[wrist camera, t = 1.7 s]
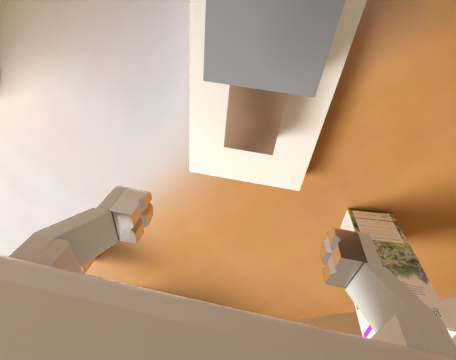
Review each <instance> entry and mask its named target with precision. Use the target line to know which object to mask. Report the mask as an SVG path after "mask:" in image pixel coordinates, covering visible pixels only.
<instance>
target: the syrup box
mask: <svg viewBox="0 0 456 360" xmlns="http://www.w3.org/2000/svg"><path fill="white" fill-rule="evenodd" d="M340 229H344V230H350V231H355V232H361V233H367V234H369V235H370V236H371V239H372V241H373V244H374V246H375V249H376V251H377V254H378V256H379V259H380V261H381V264H382V266H383V267H386V268H388V269H389V270H390V271H391V272H392V273H393V274H394V275H395V276H396V277H397V278H398V279H399V280H400V281H401V282H402V283H403V284H404V285H405V286H406V287H408V288H409V289H410V290H411V291H412V292H413V293H414V294H415V295H416V296H417V297H418V298H419V299H420V300H421V301H422V302H423V303H424V304H425V305H427V306H428V307H429V308H430V309H431V310H432V311H433V312H434V313H435V314H436V315H437V316H438V317H439V318H440V319H441V320H442V321H443V322H444V324H445V326H446V328H447V330H448V332H449V334H450V336H451V338H453V337H454V336H455V335H456V328H455V326H454V324H453V322H452V321H451V319H450V317H449V315H448V314H447V312H446V310H445V308H444V306H443V304H442V303H441V301H440V299H439V297H438V295H437V293H436V292H435V290H434V288H433V286H432V284H431V283H430V281H429V279H428V277H427V275H426V274H425V272H424V270H423V268H422V266H421V264H420V263H419V261H418V259H417V257H416V255H415V253H414V252H413V250H412V248H411V246H410V244H409V243H408V241H407V239H406V237H405V235H404V234H403V232H402V230H401V228H400V226H399V225H398V223H397V221H396V219H395V217H394V215H393V214H392V213H384V212H372V211H361V210H351V209H348V210H347V212H346V214H345V217H344V219H343V222H342V225H341V228H340ZM355 308H356V312H357V315H358V319H359V324H360V327H361V331H362V335H363V337H365V338H369V339H370V338H371V337H372V336H373V335H374V334H375V332H374V330H373V329H372V327H371V326H370V325H369V323H368V322H367V320H366V319H365V317H364V316H363V314H362V313H361V312H360V310H359V309H358V307H357V306H356V304H355Z"/></svg>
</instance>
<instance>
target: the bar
mask: <svg viewBox="0 0 456 360" xmlns="http://www.w3.org/2000/svg"><path fill="white" fill-rule="evenodd" d="M287 95H288V93H281V92H274V91H268V90H261V89H254V88H247V87H241V86H234V85H230V87H229V97H228V107H227V118H226V128H225V138H224V147H226V148H232V149H238V150H244V151H250V152H255V153H261V154H267V155H273V152H274V148H275V144H276V140H277V136H278V132H279V128H280V123H281V119H282V115H283V111H284V107H285V103H286V99H287Z"/></svg>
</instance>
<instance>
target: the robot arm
mask: <svg viewBox="0 0 456 360" xmlns="http://www.w3.org/2000/svg"><path fill="white" fill-rule="evenodd" d="M151 199H152V197H151V193H150V192H147V191H142V190H137V189H133V188H127V187H123V186H117V187H115V188H114V189H113V190H112V192H111V193H110V194H109V195H108V196H107V197H106V198H105V199H104V200H103V201H102V203H101V204H100V205H99V206H98V207H97V208H92V209H89V210H87V211H84V212H82V213H80V214H77V215H75V216H73V217H70V218H68V219H66V220H63V221H61V222H58V223H56V224H54V225H51V226H49V227H47V228H44V229H42V230H39V231H37V232H35V233H34V234H33V235H31V236H30V237H29V238H28V239H27V240H26V241H25V242H24V243H23V244H22V245H21V246H20V247H19V248H17V249H16V250H15V251H14V252H13V253H12V254H11V255H10V256H9V257H7V256H3V255H0V360H456V346H455V344H454V342H453V340H452V338H451V336H450V334H449V332H448V330H447V328H446V326H445V324H444V322H443V321H442V320H441V319H440V318H439V317H438V316H437V315H436V314H435V313H434V312H433V311H432V310H431V309H430V308H429V307H428V306H427V305H425V304H424V303H423V302H422V301H421V300H420V299H419V298H418V297H417V296H416V295H415V294H414V293H413V292H412V291H411V290H410V289H409V288H408V287H406V286H405V285H404V284H403V283H402V282H401V281H400V280H399V279H398V278H397V277H396V276H395V275H394V274H393V273H392V272H391V271H390V270H389V269H388V268H386V267H383V266H382V264H381V261H380V259H379V256H378V254H377V251H376V249H375V246H374V244H373V241H372V239H371V236H370V235H369V234H367V233H361V232H355V231H350V230H344V229H339V228H334V227H331V228H330V229H329V231H328V238H327V239H325V240H324V241H323V243H322V246H321V261H322V262H323V263H324V265H325V266H324V268H323V275H324V281H325V284H328V285H332V286H336V287H341V288H345V290H346V291H347V293H348V294H349V296H350V297H351V299H352V300H353V301H354V303H355V304H356V306H357V307H358V309H359V310H360V312H361V313H362V314H363V316H364V317H365V319H366V320H367V322H368V323H369V325H370V326H371V327H372V329H373V330H374V332H375V334H374V335H373V336H372V337H371V338H370V339H369V338H365V337H360V336H356V335H351V334H347V333H342V332H338V331H334V330H329V329H325V328H320V327H316V326H311V325H307V324H303V323H298V322H294V321H290V320H285V319H281V318H276V317H272V316H268V315H263V314H259V313H254V312H250V311H245V310H241V309H237V308H232V307H228V306H223V305H219V304H214V303H210V302H206V301H201V300H197V299H192V298H188V297H184V296H179V295H175V294H170V293H166V292H162V291H157V290H153V289H148V288H144V287H139V286H135V285H131V284H126V283H122V282H117V281H113V280H109V279H104V278H100V277H95V276H91V275H87V274H84V273H83V271H82V269H81V267H82V266H83V265H85V264H86V263H88V262H89V261H91V260H92V259H94V258H95V257H97V256H98V255H100V254H101V253H103V252H104V251H106V250H107V249H109V248H110V247H112V246H113V245H115V244H116V243H118V242H119V241H124V242H129V243H135V244H137V243H138V241H139V240H140V238H141V236H142V235H143V233H144V231H143V228H144V227H146V226H148V225H149V223H150V221H151V218H152V215H153V206H152V205H151V203H150V201H151Z"/></svg>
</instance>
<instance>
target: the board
mask: <svg viewBox="0 0 456 360" xmlns="http://www.w3.org/2000/svg"><path fill="white" fill-rule="evenodd" d="M366 2H367V0H190V95H189V171H190V172H195V173H201V174H207V175H212V176H218V177H223V178H229V179H235V180H240V181H246V182H252V183H257V184H263V185H269V186H274V187H280V188H285V189H291V190H297V191H300V188H301V185H302V182H303V179H304V176H305V174H306V171H307V168H308V165H309V162H310V160H311V157H312V154H313V151H314V148H315V145H316V143H317V140H318V137H319V134H320V131H321V129H322V126H323V123H324V120H325V117H326V115H327V112H328V109H329V106H330V103H331V100H332V98H333V95H334V92H335V89H336V86H337V84H338V81H339V78H340V75H341V72H342V69H343V67H344V64H345V61H346V58H347V55H348V53H349V50H350V47H351V44H352V41H353V39H354V36H355V33H356V30H357V27H358V24H359V22H360V19H361V16H362V13H363V10H364V8H365V5H366ZM230 85H234V86H241V87H247V88H254V89H261V90H268V91H274V92H281V93H288V95H287V99H286V103H285V107H284V111H283V115H282V119H281V123H280V128H279V132H278V136H277V140H276V144H275V148H274V152H273V155H267V154H261V153H255V152H250V151H244V150H238V149H232V148H226V147H224V138H225V128H226V118H227V107H228V97H229V87H230Z"/></svg>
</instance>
